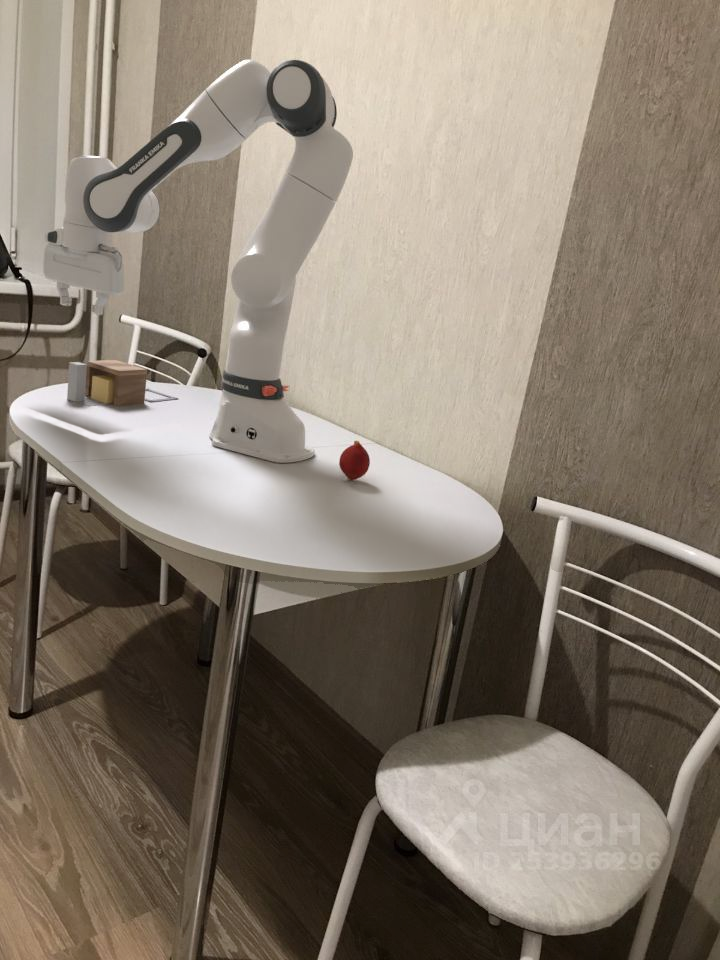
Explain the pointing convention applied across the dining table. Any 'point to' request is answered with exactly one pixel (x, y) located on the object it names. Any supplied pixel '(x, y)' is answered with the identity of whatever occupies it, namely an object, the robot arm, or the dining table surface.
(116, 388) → the brown wooden box
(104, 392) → the block
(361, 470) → the onion
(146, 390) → the thin grey frame
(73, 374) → the grey angled piece
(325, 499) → the dining table surface
